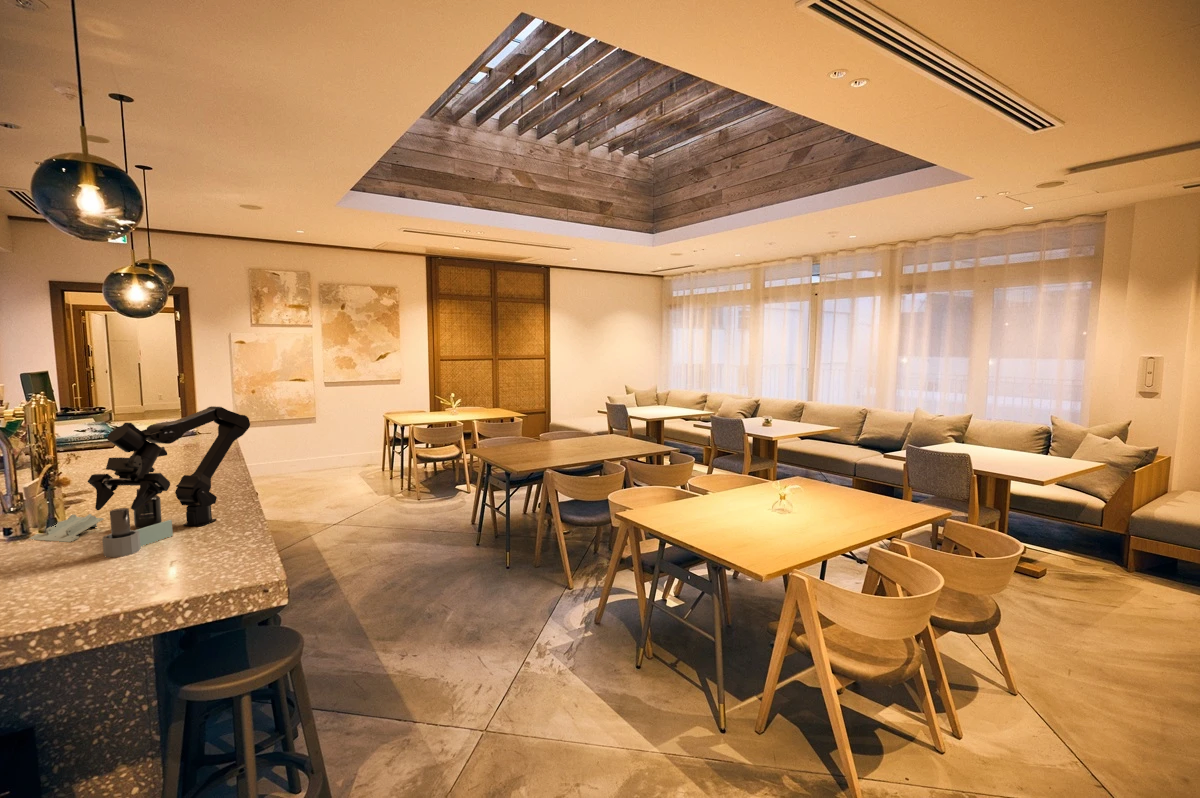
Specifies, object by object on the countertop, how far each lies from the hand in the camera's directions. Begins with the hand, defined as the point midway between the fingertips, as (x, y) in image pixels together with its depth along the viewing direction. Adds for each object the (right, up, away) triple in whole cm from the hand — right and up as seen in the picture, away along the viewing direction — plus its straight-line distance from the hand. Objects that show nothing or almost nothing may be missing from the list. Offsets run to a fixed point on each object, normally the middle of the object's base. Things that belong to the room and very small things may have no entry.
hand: (114, 509), depth 154 cm
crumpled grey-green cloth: (-29, -12, +18) cm, 36 cm away
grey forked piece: (-2, -12, +8) cm, 14 cm away
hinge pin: (0, -12, +3) cm, 13 cm away
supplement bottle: (-12, -10, +27) cm, 31 cm away
